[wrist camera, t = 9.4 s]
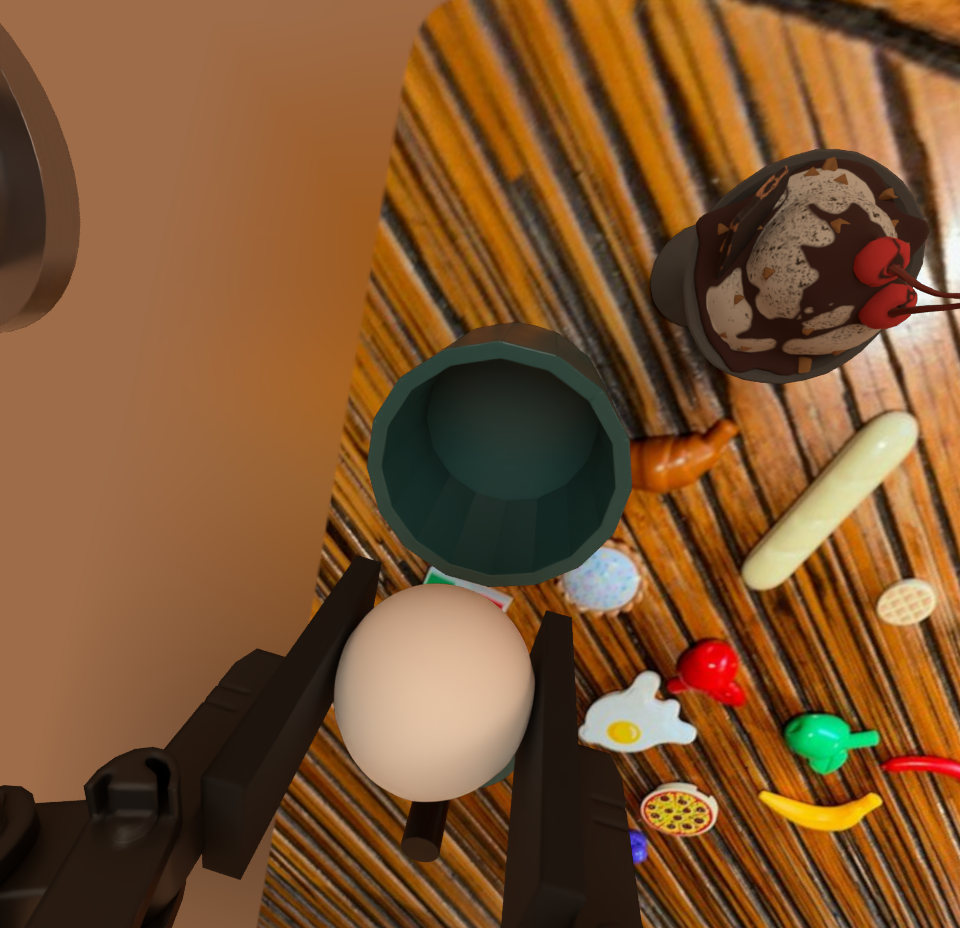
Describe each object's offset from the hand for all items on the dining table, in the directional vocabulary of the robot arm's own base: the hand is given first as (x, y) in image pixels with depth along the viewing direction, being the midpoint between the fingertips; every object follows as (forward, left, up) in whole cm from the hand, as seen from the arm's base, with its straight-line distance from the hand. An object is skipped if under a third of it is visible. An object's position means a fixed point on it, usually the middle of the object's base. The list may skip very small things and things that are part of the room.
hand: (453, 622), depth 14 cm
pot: (0, +1, -16) cm, 16 cm away
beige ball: (0, 0, 0) cm, 0 cm away
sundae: (+8, +12, -16) cm, 21 cm away
